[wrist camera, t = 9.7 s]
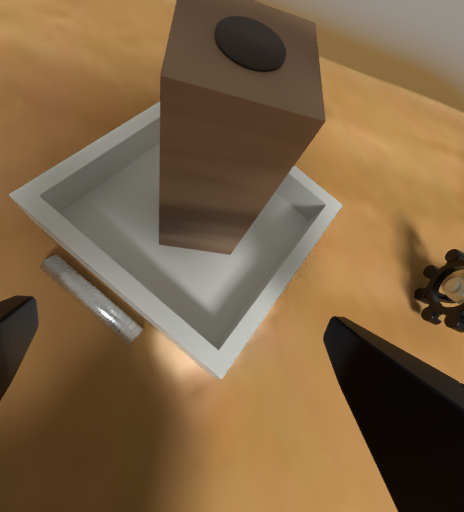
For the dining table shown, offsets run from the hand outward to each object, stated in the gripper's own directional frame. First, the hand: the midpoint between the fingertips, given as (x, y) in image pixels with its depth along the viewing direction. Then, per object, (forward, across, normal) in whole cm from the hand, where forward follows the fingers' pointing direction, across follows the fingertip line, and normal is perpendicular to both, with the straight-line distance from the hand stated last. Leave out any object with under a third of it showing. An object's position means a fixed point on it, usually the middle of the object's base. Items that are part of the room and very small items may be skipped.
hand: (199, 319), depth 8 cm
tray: (+13, -1, +1) cm, 13 cm away
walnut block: (+12, -1, 0) cm, 12 cm away
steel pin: (+8, +5, +5) cm, 11 cm away
